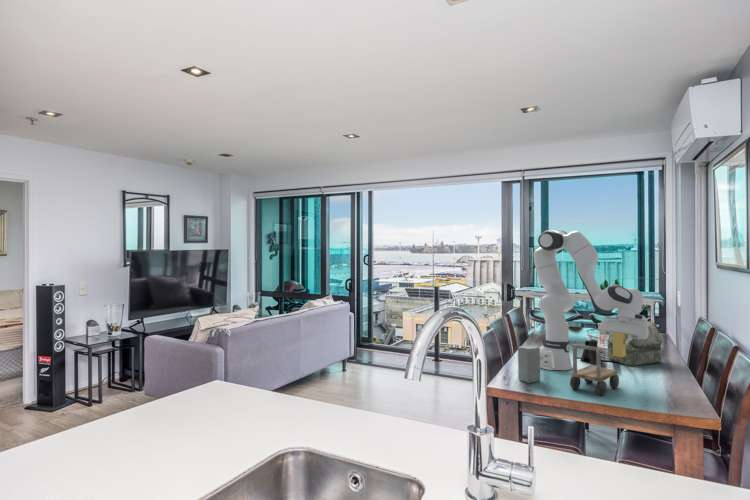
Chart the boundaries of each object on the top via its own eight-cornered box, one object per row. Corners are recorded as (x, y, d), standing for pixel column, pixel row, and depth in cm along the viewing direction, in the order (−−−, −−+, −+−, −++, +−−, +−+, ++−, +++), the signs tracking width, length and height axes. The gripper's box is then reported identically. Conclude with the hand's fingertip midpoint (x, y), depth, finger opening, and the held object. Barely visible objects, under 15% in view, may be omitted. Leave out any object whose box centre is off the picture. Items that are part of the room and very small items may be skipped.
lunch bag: (630, 368, 230) (630, 325, 230) (602, 359, 248) (601, 320, 247) (667, 363, 239) (667, 322, 238) (637, 355, 256) (637, 317, 256)
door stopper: (602, 363, 239) (602, 341, 239) (594, 365, 236) (594, 342, 236) (588, 360, 247) (587, 338, 247) (580, 361, 245) (580, 339, 245)
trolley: (570, 390, 196) (569, 343, 196) (589, 380, 209) (589, 337, 209) (600, 397, 186) (600, 348, 186) (619, 386, 199) (618, 341, 199)
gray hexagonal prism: (528, 383, 205) (528, 349, 205) (516, 379, 212) (516, 346, 212) (541, 381, 209) (541, 347, 209) (529, 377, 216) (529, 344, 216)
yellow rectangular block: (612, 355, 202) (612, 333, 202) (616, 354, 205) (616, 332, 205) (622, 357, 199) (622, 334, 199) (625, 355, 202) (625, 333, 202)
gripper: (601, 312, 214) (592, 335, 208) (649, 317, 199) (641, 342, 193) (605, 320, 217) (596, 343, 211) (652, 325, 202) (645, 350, 196)
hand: (618, 343), depth 202 cm, fingers closed on yellow rectangular block, 4 cm apart
